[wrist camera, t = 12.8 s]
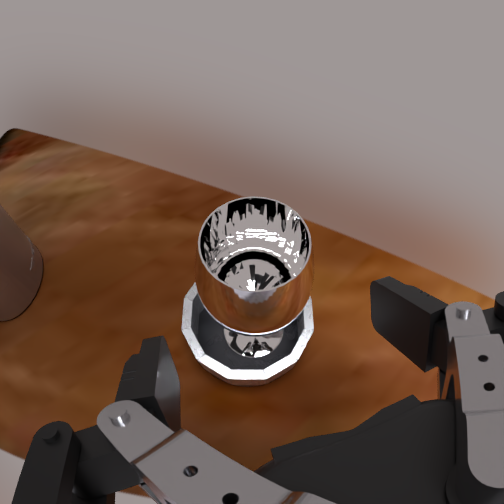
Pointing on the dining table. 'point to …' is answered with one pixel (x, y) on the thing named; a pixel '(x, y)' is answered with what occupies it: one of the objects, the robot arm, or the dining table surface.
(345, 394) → the dining table surface
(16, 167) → the dining table surface
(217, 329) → the grey bowl
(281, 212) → the wineglass
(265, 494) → the robot arm
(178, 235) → the dining table surface
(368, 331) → the dining table surface
